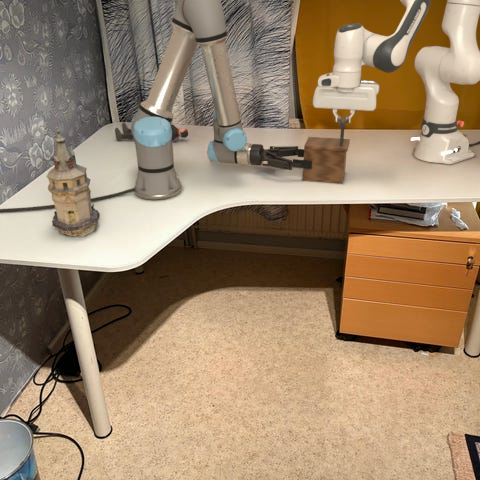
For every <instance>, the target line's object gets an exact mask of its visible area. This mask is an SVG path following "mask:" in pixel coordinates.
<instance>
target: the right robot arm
mask: <svg viewBox="0 0 480 480" xmlns="http://www.w3.org/2000/svg"><path fill="white" fill-rule="evenodd" d="M399 2H400V3H401V4H402V5H403V6H404V7H405V9H406V10H405V12H404V14H403V16H402V18H401V20H400V22H399V25H398V26H397V28H396V29H395V31H394V33H392V34H391V35H381V34H379V33H374V32H372V31H370V30H368V29H366V28H365V27H364V26H363V24H361V23H354V22H353V23H347V24H343V25H342V26H340V27H339V28H338V29H337V32H336V34H335V40H334V45H333V46H334V47H333V48H334V49H333V58H334V64H333V66H332V72H328V73H325V74H322V75H320V76H319V77H318V80H317V86H316V88H315V89H314V92H313V97H312V106H313V108H315V109H330V110H332V113H333V115H334V117H335V123H340V121H341V119H342V116H341V115H339V114H338V110H349V112H350V114H349V115H347V116H346V117H345V118H346V124H351V121H352V117H353V116H354V114H355V113H356V111H366V112H370V111H371V112H374V111H375V110H376V109H377V102H378V101H377V99H378V98H377V95H378V94H379V92H380V84H379V83H378V82H377V81H376V80H372V79H371V80H367V79H366V80H365V79H361V78H362V66H366V67H370V68H373V69H377V70H379V71H382V72H384V73H386V74H390V73H394V72H396V71H397V70H399V69H400V68H401V67H402V65H403V64H404V63H405V61H406V58H407V56H408V53H409V49H410V48H411V45H412V43H413V41H414V39H415V37H416V35H417V34H418V31H419V29H421V25H422V24H423V22H424V20H425V18H426V16H427V14H428V12H429V9H430V7H431V2H432V0H399ZM479 18H480V0H446V5H445V9H444V13H443V17H442V22H441V30H442V32H443V33H444V34H445V36H447V37H448V39H449V42H450V43H449V45H450V47H446V46H439V45H433V46H432V45H430V46H424V47H422V48H421V49H420V50H419V51H418V52H417V54H416V56H415V58H414V62H413V63H414V64H413V65H414V69H415V72H416V73H417V74H418V75H419V77H420V78H421V81H422V83H423V86H424V90H425V106H424V107H425V108H424V113H423V114H424V115H423V117H422V120H421V125H420V133H419V136H417V137H411V138H410V141H417V145H416V146H415V150H414V152H413V156H414V157H415V158H416V159H418V160H420V161H424V162H428V163H434V164H435V163H436V164H442V165H443V164H444V165H453V164H456V163H459V162H462V161H465V160H468V159H472V158H474V157H475V153H474V152H473V151H472V150H471V149H470V147H473V146H477V145H479V144H480V140H478V141H477V142H475V143H470V141H469V138H468V137H467V134H464V133H462V132H461V131H459V127H460V128H463V127H464V126H465V121H464V120H463V121H462V120H461V119H460V120H457V115H458V110H459V104H460V99H459V96H458V95H457V94H456V92H455V91H453V89H452V87H451V84H455V85H456V84H457V85H462V86H463V85H465V86H467V85H475V84H477V83H478V82H480V48H479V46H478V41H477V27H478V23H479Z"/></svg>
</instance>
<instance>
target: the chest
mask: <svg viewBox="0 0 480 480" xmlns="http://www.w3.org/2000/svg"><path fill="white" fill-rule="evenodd" d="M303 149H304V148H303ZM347 153H348V151H347V152H346V151H330V150H315V149H304V157H303V160H310V161H312V169H306V168H302V181H306V182H307V181H308V182H317V183H318V182H319V183H327V184H328V183H329V184H339V185H342V184H343V182H344V178H345V174H346V163H347Z"/></svg>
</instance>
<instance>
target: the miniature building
mask: <svg viewBox="0 0 480 480" xmlns="http://www.w3.org/2000/svg"><path fill="white" fill-rule="evenodd" d="M56 134H57V136H56V138H55V140H54V141H55V142H56V147H55V154H54V156H52V157H51V161H52V162H53V165H54V167H53V168H51V169H50V170H49V171H48V173H47V174H46V178H47V179H48V182H49V184H48V186H47V190H48V191H49V193H50V194H51V200H52V201H53V205H55V208H54V209H55V211H53V217H52V220H51V223H52V225H51V227H54V228H56V229H58V230H59V231H60V234H63V235H64V234H65V235H66V236H69V237H77V236H80V237H83V236H87V235H88V234H90V233H93V232H94V231H95V229H96V226H97V225H98V223H99V220H100V216H101V213H100V212H99V210H98V209H96V208H95V204H92V202H91V198H92V197H91V192H92V191H91V188H90V184H91V178H89V177H88V174H87V167H85V166H84V165H83V166H82V165H80V164H77V160H76V154H75V151H74V150H70V149H69V147H68V145H67V143H66V138H65V137H64V136H63V135H61V130H60V129H56Z"/></svg>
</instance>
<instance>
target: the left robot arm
mask: <svg viewBox="0 0 480 480" xmlns="http://www.w3.org/2000/svg"><path fill="white" fill-rule="evenodd" d="M170 23H171V26H172V28H173V29H172V30H173V31H172V33H171V35H170V39H169V41H168V44H167V46H166V49H165V52H164V54H163V57H162V58H161V59H162V60H161V61H160V65H159V68H158V70H157V73H156V76H155V78H154V81H153V83H152V86H151V88H150V90H149V94H148V97H147V99H145V100H144V101H142V102H140V105H139V107H138V110H137V111H136V112H135V114H134V115H133V117H132V119H131V122H130V129H131V133H132V135H133V138H134V139H133V142H134V146H135V154H136V161H137V175H136V179H135V184H134V187H133V188H129V189H125V190H122V191H119V192H115V193H111V194H106V195H102V196H96V197H91V203H92V202H96V201H102V200H106V199H110V198H115V197H119V196H122V195H126V194H129V193H132V192H133V193H135V195H136V196H137V197H138V198H141V199H143V200H148V201H161V200H168V199H171V198H174V197H176V196H178V195H179V194H180V193H181V192H182V182H181V180H180V177H179V176H180V175H179V173H178V172H177V171H176V169H175V161H174V160H175V159H174V158H175V157H174V147H173V141H172V129H171V124H172V122H173V119H174V117H175V116H174V114H173V110H172V109H173V107H174V105H175V102H176V99H177V97H178V95H179V92H180V90H181V87H182V84H183V82H184V79H185V77H186V74H187V72H188V70H189V67H190V64H191V62H192V59H193V57H194V54H195V52H196V50H197V47H198V45H199V46H200V50H201V55H202V60H203V64H204V68H205V71H206V76H207V82H208V85H209V89H210V94H211V98H212V102H213V106H214V110H213V112H212V125H213V128H212V129H213V140H210V141H209V143H208V145H207V152H206V153H207V158H208V160H209V161H210V162H213V163H219V164H234V165H235V164H236V165H241V166H245V165H248V166H249V165H251V166H256V167H258V166H260V167H261V166H262V167H271V168H275V169H276V168H277V169H280V170H281V169H282V170H287V171H292V170H293V168H295V169H303V168H306V169H312V161H310V160H304V159H298V158H304V148H299V146H298V145H294V146H293V145H291V146H290V145H289V146H287V145H286V146H284V145H283V146H274V145H270V146H269V148H267V149H265V148H264V145H263V144H260V143H252V144H251V143H250V142H248V137H247V134H246V132H245V130H244V128H243V124H242V119H241V113H240V109H239V103H238V98H237V93H236V89H235V84H234V79H233V74H232V73H233V72H232V68H231V64H230V59H229V54H228V49H227V44H226V40H227V37H228V32H227V26H226V25H227V24H226V19H225V13H224V8H223V4H222V1H221V0H176V3H175V11H174V13H173V17H172V19H171V21H170ZM296 156H297V159H295V158H292V159H289V158H286V157H296ZM48 209H55V205H54V204H48V205H37V206H27V207H11V208H0V213H11V212H26V211H27V212H28V211H39V210H48Z"/></svg>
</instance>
